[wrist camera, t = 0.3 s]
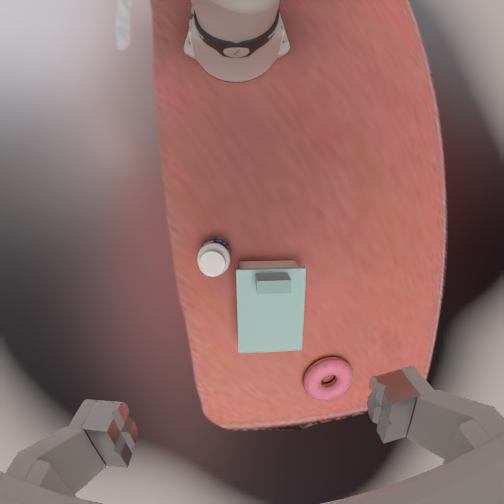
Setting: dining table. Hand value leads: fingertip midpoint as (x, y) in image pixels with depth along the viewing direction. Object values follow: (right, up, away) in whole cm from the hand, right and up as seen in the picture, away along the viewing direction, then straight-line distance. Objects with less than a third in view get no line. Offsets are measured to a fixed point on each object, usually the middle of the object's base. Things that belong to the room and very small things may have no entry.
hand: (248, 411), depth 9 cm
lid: (+3, -5, +42) cm, 43 cm away
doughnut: (+16, -21, +54) cm, 60 cm away
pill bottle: (-6, +5, +46) cm, 47 cm away
